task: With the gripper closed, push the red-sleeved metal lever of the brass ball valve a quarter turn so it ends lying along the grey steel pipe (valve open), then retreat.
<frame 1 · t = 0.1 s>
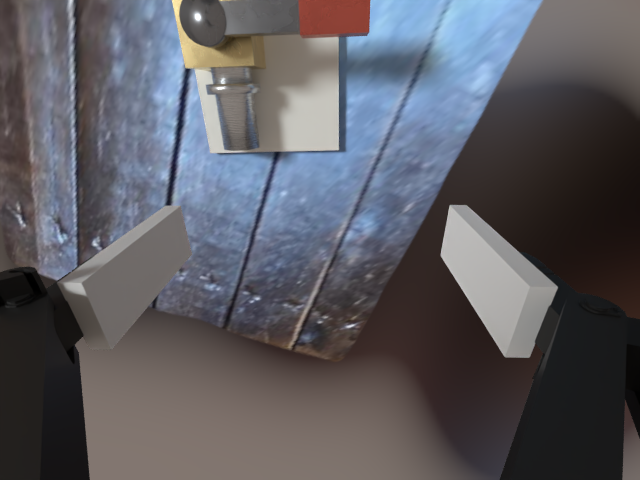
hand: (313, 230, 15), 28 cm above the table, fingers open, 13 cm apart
lever: (275, 17, 27), point 9 cm above the table, hinge at 0.0°
valve: (234, 35, 35), resting on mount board
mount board: (264, 34, 35), on the table
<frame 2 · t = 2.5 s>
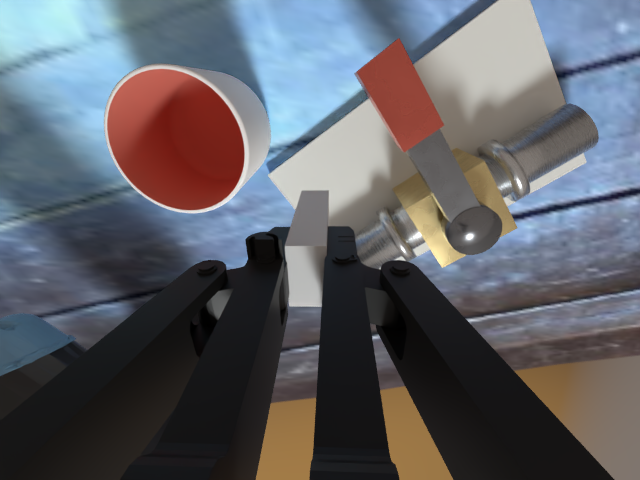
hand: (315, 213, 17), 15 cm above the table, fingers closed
lever: (434, 163, 22), point 9 cm above the table, hinge at 0.0°
valve: (436, 193, 32), resting on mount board
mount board: (420, 166, 31), on the table
cup: (223, 129, 30), on the table
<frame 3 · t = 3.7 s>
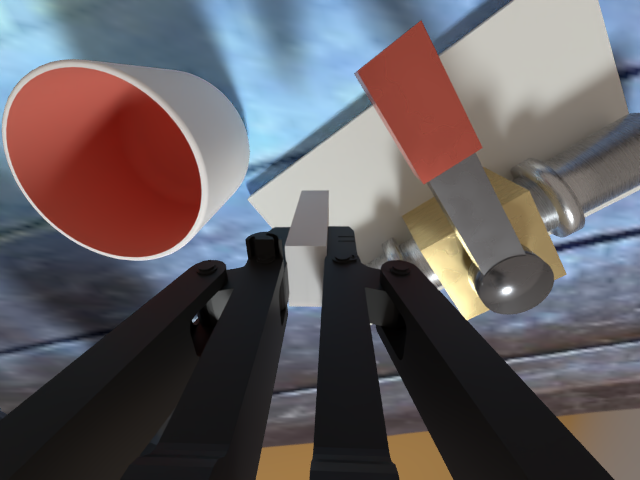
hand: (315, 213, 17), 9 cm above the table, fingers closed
lever: (464, 197, 16), point 9 cm above the table, hinge at 0.0°
valve: (455, 221, 26), resting on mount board
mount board: (436, 188, 25), on the table
cup: (191, 142, 24), on the table
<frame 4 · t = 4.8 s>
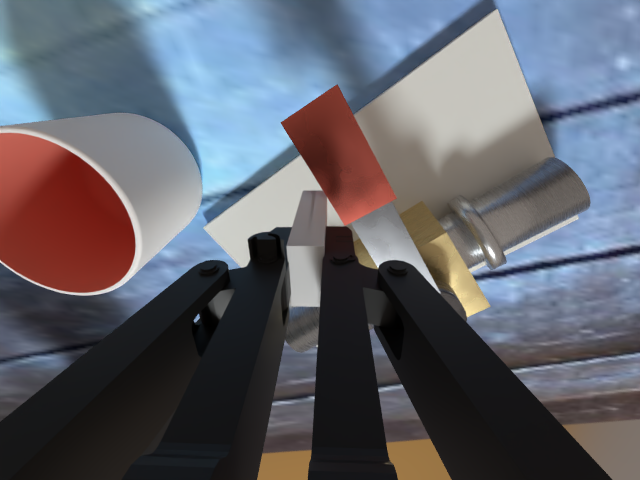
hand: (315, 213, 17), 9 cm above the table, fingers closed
lever: (386, 237, 17), point 9 cm above the table, hinge at 4.4°, touching gripper
valve: (402, 248, 28), resting on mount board
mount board: (382, 218, 26), on the table
cup: (150, 174, 26), on the table
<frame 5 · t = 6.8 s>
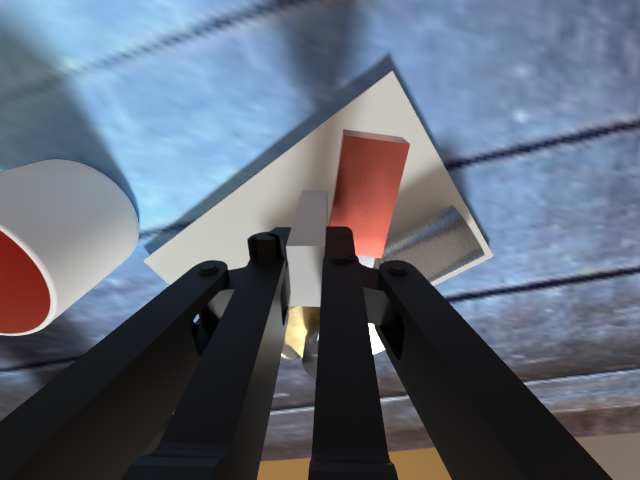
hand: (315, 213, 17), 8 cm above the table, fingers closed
lever: (346, 278, 18), point 9 cm above the table, hinge at 42.9°, touching gripper
valve: (333, 279, 29), resting on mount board
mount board: (312, 253, 28), on the table
cup: (91, 211, 27), on the table
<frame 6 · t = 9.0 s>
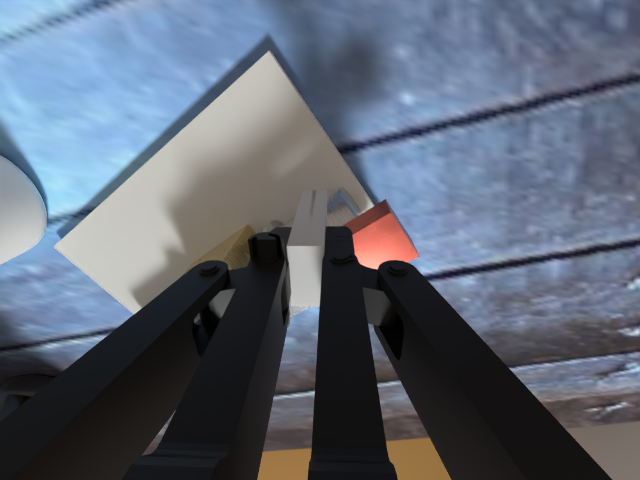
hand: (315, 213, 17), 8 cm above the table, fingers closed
lever: (283, 294, 19), point 9 cm above the table, hinge at 90.4°, touching gripper
valve: (247, 266, 29), resting on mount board
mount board: (222, 239, 28), on the table
cup: (0, 196, 27), on the table
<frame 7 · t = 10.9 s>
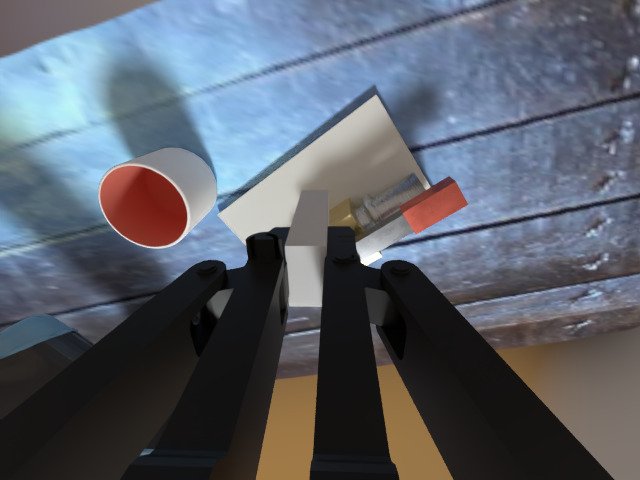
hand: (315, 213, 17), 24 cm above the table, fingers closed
lever: (389, 230, 34), point 9 cm above the table, hinge at 90.4°
valve: (341, 227, 44), resting on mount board
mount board: (327, 208, 43), on the table
cup: (185, 182, 42), on the table
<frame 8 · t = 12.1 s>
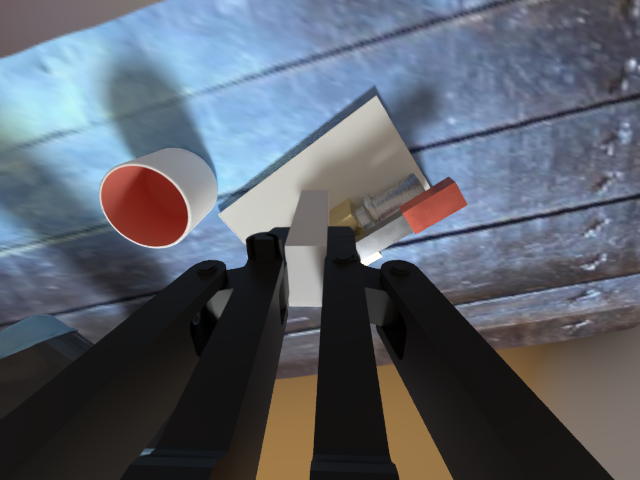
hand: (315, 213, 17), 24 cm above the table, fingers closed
lever: (389, 230, 35), point 9 cm above the table, hinge at 90.4°
valve: (341, 227, 44), resting on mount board
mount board: (327, 208, 43), on the table
cup: (185, 182, 42), on the table
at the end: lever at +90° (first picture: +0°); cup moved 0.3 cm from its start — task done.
